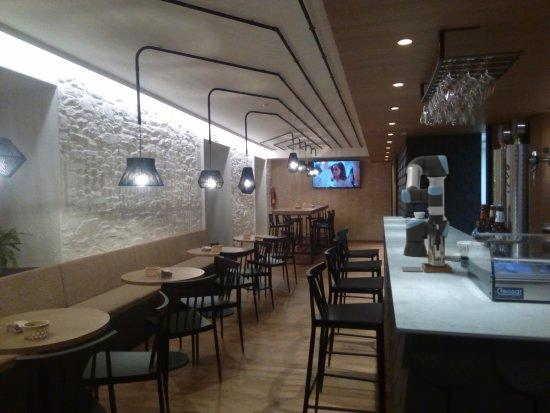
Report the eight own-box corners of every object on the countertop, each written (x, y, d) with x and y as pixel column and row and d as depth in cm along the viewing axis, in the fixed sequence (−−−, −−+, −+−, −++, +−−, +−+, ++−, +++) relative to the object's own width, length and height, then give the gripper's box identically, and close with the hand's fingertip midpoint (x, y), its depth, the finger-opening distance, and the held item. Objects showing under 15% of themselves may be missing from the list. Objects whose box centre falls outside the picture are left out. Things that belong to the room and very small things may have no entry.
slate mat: (401, 267, 244) (401, 266, 244) (420, 267, 242) (420, 266, 241) (402, 271, 232) (402, 270, 232) (422, 272, 230) (422, 271, 230)
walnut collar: (421, 267, 242) (421, 263, 242) (448, 267, 239) (448, 263, 239) (424, 272, 229) (424, 267, 229) (452, 273, 225) (452, 268, 225)
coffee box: (445, 265, 229) (445, 235, 228) (433, 266, 229) (433, 236, 228) (439, 262, 238) (439, 233, 237) (427, 262, 239) (427, 234, 238)
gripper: (426, 212, 244) (426, 251, 245) (430, 216, 222) (431, 258, 224) (440, 212, 242) (440, 251, 244) (446, 215, 221) (446, 258, 222)
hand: (436, 254), depth 234 cm, fingers closed on coffee box, 10 cm apart
